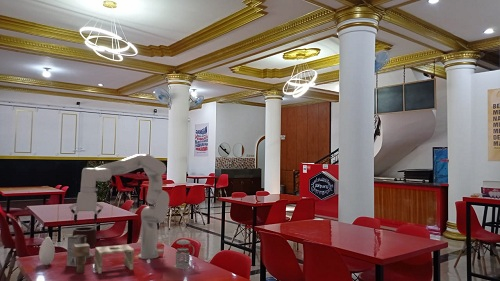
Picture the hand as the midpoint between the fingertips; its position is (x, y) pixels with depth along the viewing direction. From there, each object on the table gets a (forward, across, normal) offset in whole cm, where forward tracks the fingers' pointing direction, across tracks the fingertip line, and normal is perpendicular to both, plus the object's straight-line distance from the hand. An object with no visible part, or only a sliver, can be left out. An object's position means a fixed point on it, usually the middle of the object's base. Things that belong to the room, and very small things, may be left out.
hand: (85, 221), depth 209 cm
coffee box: (+26, +2, -16) cm, 31 cm away
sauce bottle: (+27, +17, -20) cm, 38 cm away
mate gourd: (+26, -4, -34) cm, 43 cm away
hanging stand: (+26, -16, +1) cm, 31 cm away
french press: (+25, -54, +10) cm, 61 cm away
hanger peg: (+26, +1, +1) cm, 26 cm away
